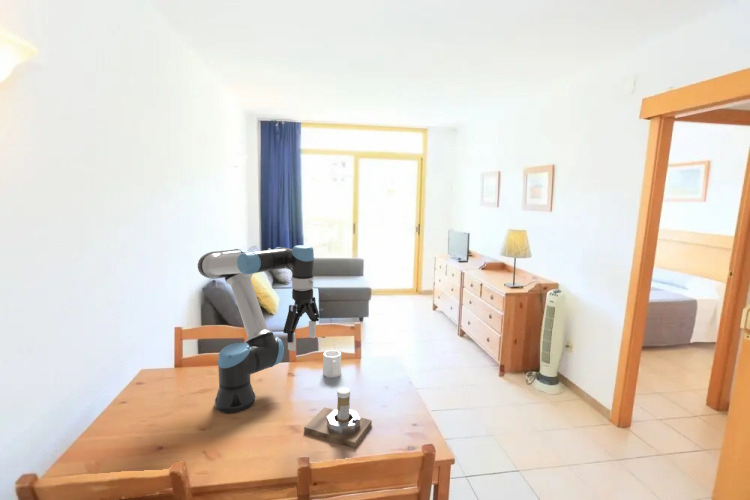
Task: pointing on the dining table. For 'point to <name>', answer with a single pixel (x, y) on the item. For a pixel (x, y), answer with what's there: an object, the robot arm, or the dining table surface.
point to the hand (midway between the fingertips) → (302, 343)
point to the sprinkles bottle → (343, 405)
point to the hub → (343, 427)
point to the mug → (332, 363)
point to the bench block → (321, 430)
